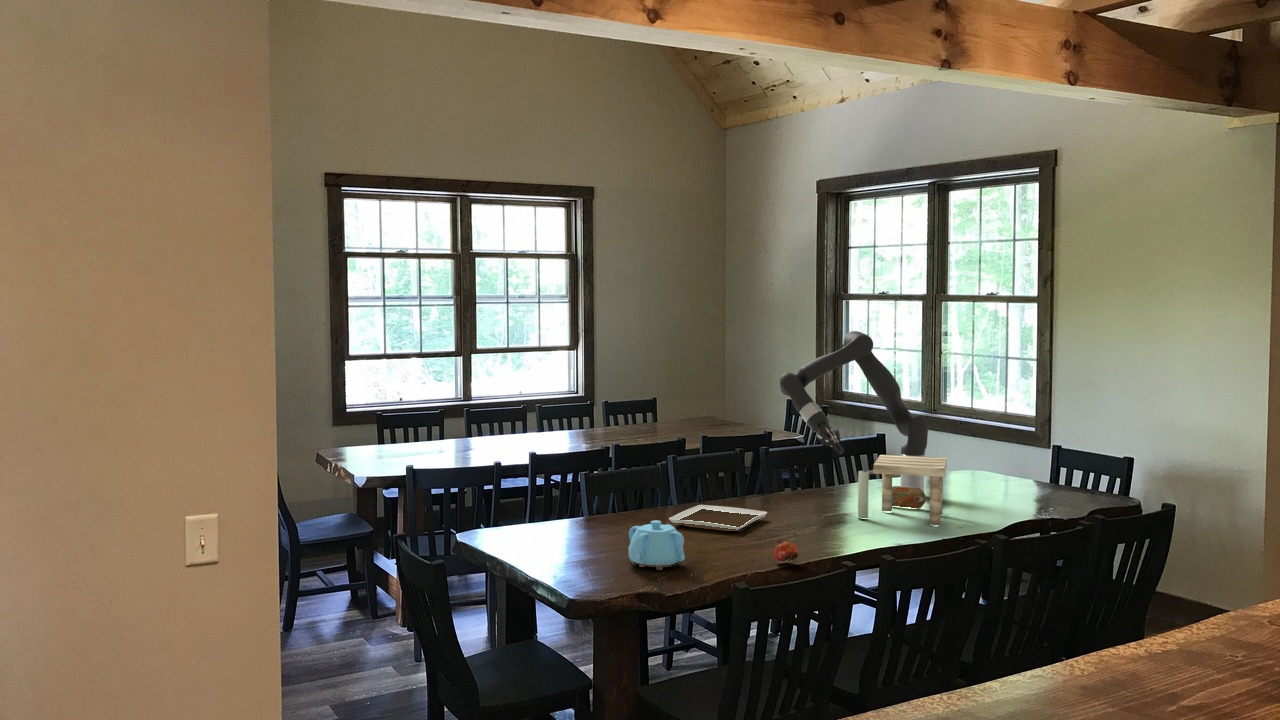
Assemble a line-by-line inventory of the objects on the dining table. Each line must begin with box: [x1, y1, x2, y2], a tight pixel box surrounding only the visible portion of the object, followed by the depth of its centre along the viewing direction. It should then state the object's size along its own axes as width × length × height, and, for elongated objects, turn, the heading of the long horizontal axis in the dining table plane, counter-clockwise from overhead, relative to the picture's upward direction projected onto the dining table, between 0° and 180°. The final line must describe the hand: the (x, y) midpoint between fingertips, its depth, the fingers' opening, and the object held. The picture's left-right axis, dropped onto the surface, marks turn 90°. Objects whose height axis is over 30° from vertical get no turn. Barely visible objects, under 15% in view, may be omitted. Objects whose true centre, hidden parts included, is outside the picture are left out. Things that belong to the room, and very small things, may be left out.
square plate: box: [668, 504, 768, 530], centre depth 366 cm, size 27×27×4 cm
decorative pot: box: [627, 519, 686, 566], centre depth 309 cm, size 16×16×14 cm
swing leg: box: [857, 469, 877, 519], centre depth 373 cm, size 13×4×17 cm, turn 116°
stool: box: [872, 454, 948, 526], centre depth 371 cm, size 24×24×21 cm
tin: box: [892, 485, 927, 510], centre depth 391 cm, size 15×3×8 cm, turn 62°
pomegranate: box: [773, 540, 800, 561], centre depth 310 cm, size 7×7×10 cm
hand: (841, 452), depth 381 cm, fingers closed
